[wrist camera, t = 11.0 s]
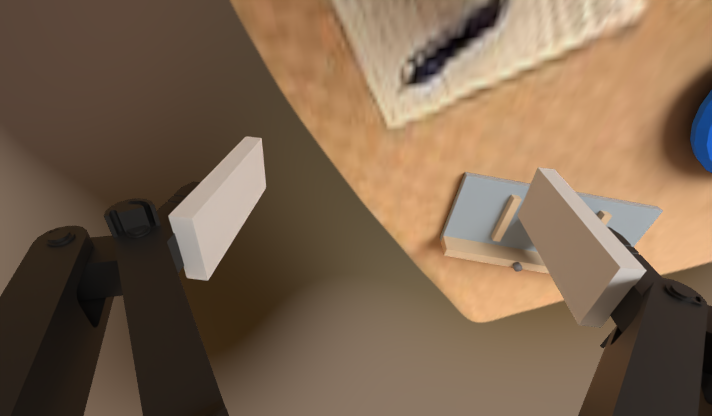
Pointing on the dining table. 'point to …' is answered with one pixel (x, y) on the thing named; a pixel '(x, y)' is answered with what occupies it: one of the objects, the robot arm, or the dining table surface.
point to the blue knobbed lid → (703, 133)
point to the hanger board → (504, 229)
